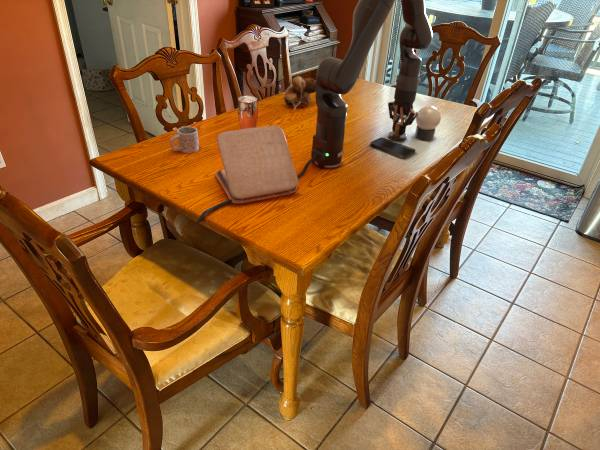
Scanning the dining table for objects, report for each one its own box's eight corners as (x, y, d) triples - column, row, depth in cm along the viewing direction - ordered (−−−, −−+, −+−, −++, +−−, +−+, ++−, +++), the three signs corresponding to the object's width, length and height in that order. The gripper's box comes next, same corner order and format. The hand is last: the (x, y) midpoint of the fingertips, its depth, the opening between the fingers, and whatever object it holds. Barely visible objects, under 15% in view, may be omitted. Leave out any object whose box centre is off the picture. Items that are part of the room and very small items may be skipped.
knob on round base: (396, 142, 165) (399, 127, 162) (384, 135, 170) (386, 121, 167) (410, 138, 168) (413, 124, 165) (397, 132, 173) (400, 118, 170)
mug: (191, 143, 157) (190, 125, 153) (202, 149, 153) (201, 131, 149) (166, 150, 151) (164, 132, 147) (177, 157, 147) (175, 138, 143)
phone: (381, 136, 166) (416, 150, 158) (381, 139, 167) (416, 152, 159) (369, 142, 161) (404, 156, 153) (368, 145, 162) (404, 159, 154)
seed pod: (329, 91, 190) (308, 72, 196) (303, 90, 179) (281, 69, 185) (316, 117, 198) (295, 98, 204) (290, 118, 187) (269, 97, 193)
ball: (425, 136, 165) (431, 112, 160) (408, 127, 171) (413, 104, 166) (442, 132, 169) (448, 108, 164) (425, 123, 175) (430, 101, 170)
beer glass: (262, 140, 162) (262, 99, 153) (247, 145, 157) (246, 103, 149) (249, 134, 165) (248, 94, 157) (234, 139, 161) (233, 98, 153)
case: (232, 208, 123) (230, 154, 114) (213, 173, 139) (209, 124, 130) (300, 195, 131) (303, 144, 122) (274, 164, 146) (275, 117, 137)
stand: (424, 142, 167) (426, 132, 165) (410, 135, 172) (412, 125, 170) (437, 138, 171) (439, 128, 168) (423, 132, 175) (426, 122, 173)
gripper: (385, 82, 162) (378, 128, 171) (412, 94, 152) (403, 141, 162) (400, 80, 165) (392, 125, 175) (428, 91, 156) (418, 138, 165)
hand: (398, 132), depth 168 cm, fingers closed on knob on round base, 3 cm apart
